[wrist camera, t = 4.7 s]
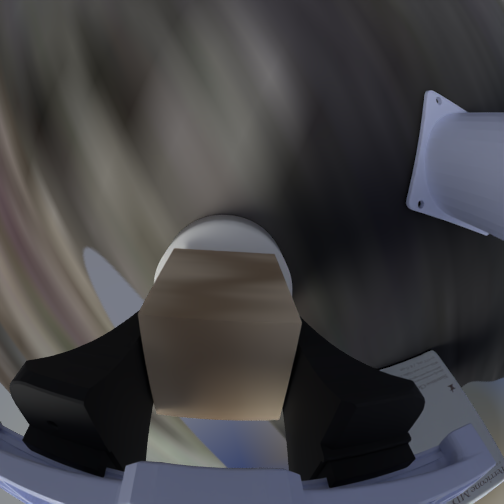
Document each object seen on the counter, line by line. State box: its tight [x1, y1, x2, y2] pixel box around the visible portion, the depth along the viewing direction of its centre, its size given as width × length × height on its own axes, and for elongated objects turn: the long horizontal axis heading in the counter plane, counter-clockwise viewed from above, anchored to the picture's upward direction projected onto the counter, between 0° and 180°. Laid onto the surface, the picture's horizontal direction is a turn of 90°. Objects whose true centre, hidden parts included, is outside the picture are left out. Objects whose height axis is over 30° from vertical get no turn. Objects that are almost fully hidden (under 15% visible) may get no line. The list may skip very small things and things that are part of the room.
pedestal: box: [154, 215, 292, 296], centre depth 15 cm, size 7×7×2 cm
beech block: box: [138, 248, 302, 420], centre depth 11 cm, size 4×4×6 cm
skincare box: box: [380, 350, 504, 504], centre depth 14 cm, size 8×6×15 cm
